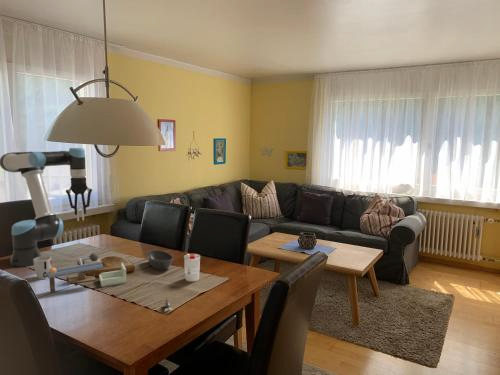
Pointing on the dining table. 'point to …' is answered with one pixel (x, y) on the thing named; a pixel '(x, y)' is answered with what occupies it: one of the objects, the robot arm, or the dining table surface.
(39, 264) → the cup
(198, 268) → the white can
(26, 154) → the robot arm
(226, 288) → the dining table surface
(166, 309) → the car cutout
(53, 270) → the ball
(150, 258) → the bowl
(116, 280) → the box
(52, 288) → the stand
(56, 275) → the lever
